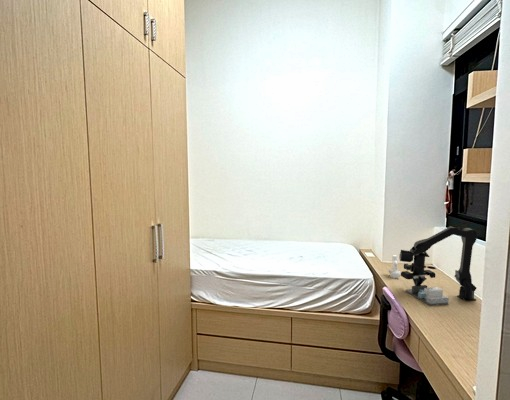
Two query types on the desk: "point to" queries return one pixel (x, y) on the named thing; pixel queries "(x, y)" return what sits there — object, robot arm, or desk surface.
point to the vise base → (431, 299)
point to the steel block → (432, 292)
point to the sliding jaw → (419, 290)
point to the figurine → (394, 268)
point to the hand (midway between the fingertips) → (416, 288)
